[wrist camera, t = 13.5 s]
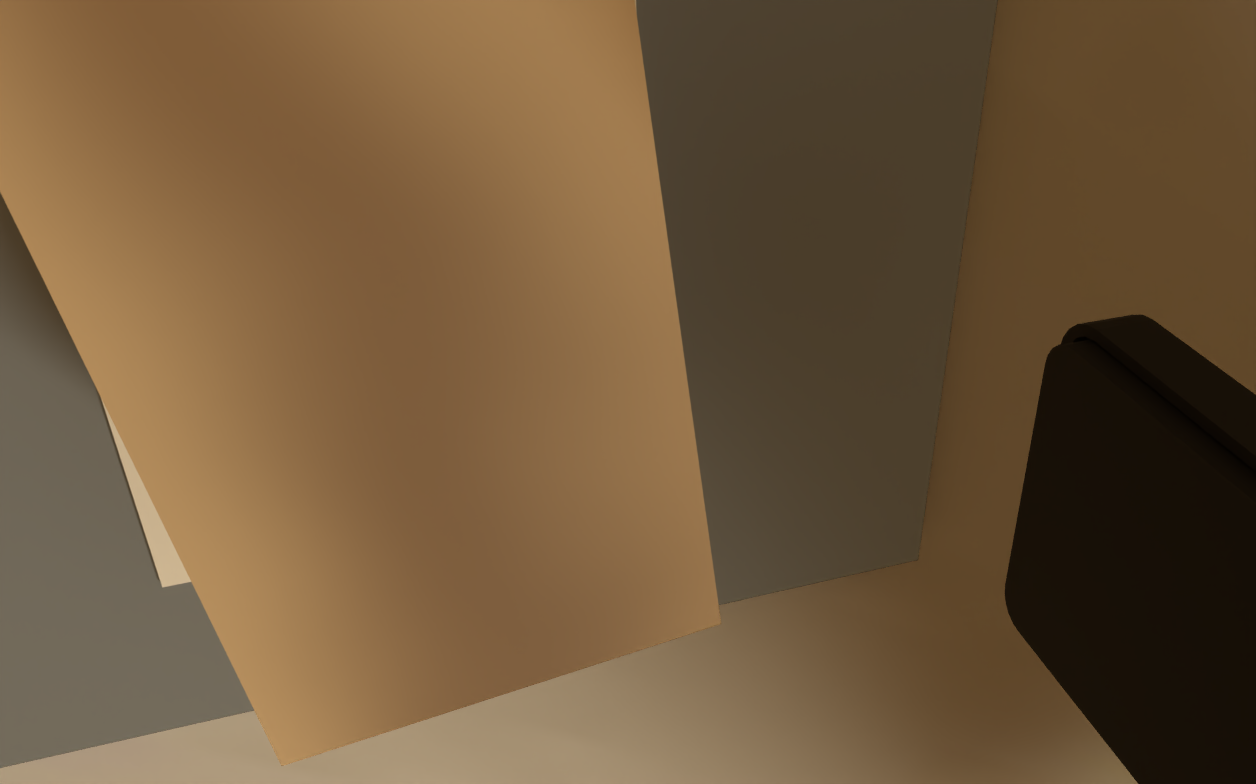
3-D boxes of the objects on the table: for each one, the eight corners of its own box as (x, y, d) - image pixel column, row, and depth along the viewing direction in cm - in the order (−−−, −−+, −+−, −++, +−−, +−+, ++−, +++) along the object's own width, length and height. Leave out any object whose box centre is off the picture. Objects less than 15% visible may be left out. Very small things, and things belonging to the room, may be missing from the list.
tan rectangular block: (486, -313, 13) (593, -290, 9) (621, 426, 18) (720, 624, 15) (-48, -213, 12) (-163, -142, 8) (268, 530, 18) (281, 766, 14)
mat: (905, 542, 22) (920, 563, 22) (-142, 776, 19) (-151, 807, 18) (1077, -754, 13) (1112, -768, 12) (-1084, -847, 9) (-1159, -875, 8)
